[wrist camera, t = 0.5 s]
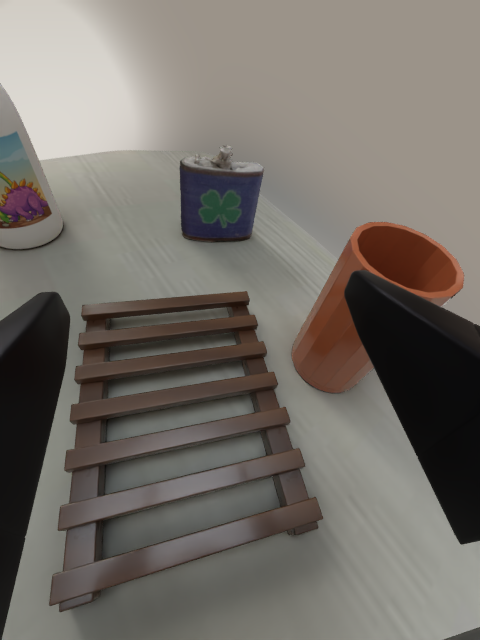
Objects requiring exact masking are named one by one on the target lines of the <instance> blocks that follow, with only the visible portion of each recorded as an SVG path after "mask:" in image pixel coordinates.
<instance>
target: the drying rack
mask: <svg viewBox="0 0 480 640" xmlns="http://www.w3.org/2000/svg"><path fill="white" fill-rule="evenodd" d="M249 301H250V299H249V296H248V293H247V291H245V292H233V293H221V294H209V295H197V296H185V297H173V298H161V299H149V300H137V301H125V302H113V303H101V304H89V305H82V313H81V316H82V318H83V320H84V321H87V324H86V333H80V334H79V341H78V346H79V348H80V349H81V350H84V355H83V365H81V366H76V369H75V378H74V380H75V382H76V383H77V384H81V386H80V397H79V403H78V404H72V405H71V413H70V422H71V423H72V424H77V428H76V439H75V449H70V450H67V451H66V459H65V468H64V470H65V471H67V472H69V473H70V472H72V480H71V491H70V501H69V504H65V505H62V506H61V507H60V513H59V522H58V531H65V530H67V533H66V543H65V554H64V564H63V571H62V572H59V573H55V574H53V576H52V584H51V593H50V602H49V605H50V606H52V605H55V604H59V603H60V606H59V612H63V611H66V610H69V609H72V608H75V607H78V606H81V605H84V604H87V603H90V602H92V601H94V600H95V599H97V598H98V597H100V595H101V590H103V589H106V588H109V587H112V586H115V585H118V584H121V583H124V582H128V581H131V580H134V579H137V578H140V577H143V576H146V575H150V574H153V573H156V572H159V571H162V570H165V569H168V568H172V567H175V566H178V565H181V564H184V563H187V562H190V561H193V560H197V559H200V558H203V557H206V556H209V555H212V554H215V553H219V552H222V551H225V550H228V549H231V548H234V547H237V546H240V545H244V544H247V543H250V542H253V541H256V540H259V539H262V538H266V537H269V536H272V535H275V534H278V533H281V532H284V531H288V534H289V535H299V534H302V533H305V532H308V531H311V530H314V529H317V528H318V525H317V522H316V521H319V520H322V519H323V516H322V513H321V510H320V507H319V504H318V502H317V499H316V497H314V498H310V499H309V497H308V494H307V491H306V488H305V485H304V482H303V479H302V475H301V472H300V469H301V468H303V467H305V463H304V460H303V457H302V454H301V451H300V449H299V448H297V449H293V448H292V445H291V441H290V438H289V435H288V432H287V429H286V425H288V424H289V423H290V419H289V416H288V413H287V410H286V407H282V408H280V407H279V404H278V401H277V398H276V395H275V392H274V389H275V388H276V387H277V386H278V383H277V380H276V377H275V374H274V372H268V370H267V367H266V364H265V361H264V358H263V357H265V356H266V354H267V350H266V347H265V344H264V342H263V341H262V342H258V340H257V336H256V333H255V329H257V326H258V323H257V320H256V317H255V315H249V312H248V309H247V306H246V305H249ZM224 307H227V309H228V313H229V317H228V318H219V319H210V320H200V321H191V322H181V323H172V324H162V325H153V326H143V327H134V328H125V329H115V330H110V318H120V317H131V316H141V315H151V314H162V313H172V312H183V311H193V310H203V309H214V308H224ZM230 332H234V335H235V339H236V342H237V345H232V346H224V347H217V348H209V349H202V350H194V351H186V352H179V353H171V354H164V355H156V356H149V357H141V358H134V359H126V360H118V361H111V362H109V347H113V346H121V345H129V344H138V343H146V342H154V341H163V340H171V339H180V338H188V337H196V336H205V335H213V334H221V333H230ZM240 360H241V361H242V365H243V368H244V372H245V376H244V377H238V378H231V379H225V380H219V381H213V382H207V383H201V384H194V385H188V386H182V387H176V388H170V389H164V390H158V391H151V392H145V393H139V394H133V395H127V396H121V397H114V398H108V380H110V379H117V378H124V377H131V376H138V375H144V374H151V373H158V372H165V371H172V370H178V369H185V368H192V367H199V366H206V365H212V364H219V363H226V362H233V361H240ZM248 393H250V394H251V398H252V402H253V405H254V409H255V413H252V414H247V415H242V416H237V417H232V418H227V419H222V420H216V421H211V422H206V423H201V424H196V425H191V426H186V427H181V428H176V429H171V430H166V431H161V432H156V433H151V434H146V435H141V436H136V437H131V438H126V439H121V440H116V441H111V442H106V430H107V419H108V418H113V417H119V416H125V415H130V414H136V413H141V412H147V411H153V410H158V409H164V408H169V407H175V406H181V405H186V404H192V403H197V402H203V401H208V400H214V399H220V398H225V397H231V396H236V395H242V394H248ZM259 431H261V435H262V438H263V442H264V446H265V450H266V453H267V456H264V457H260V458H256V459H252V460H247V461H243V462H239V463H235V464H231V465H227V466H223V467H218V468H214V469H210V470H206V471H202V472H198V473H194V474H189V475H185V476H181V477H177V478H173V479H169V480H165V481H161V482H156V483H152V484H148V485H144V486H140V487H136V488H132V489H127V490H123V491H119V492H115V493H111V494H107V495H104V486H105V465H106V464H111V463H116V462H120V461H125V460H130V459H134V458H139V457H143V456H148V455H153V454H157V453H162V452H166V451H171V450H176V449H180V448H185V447H190V446H194V445H199V444H203V443H208V442H213V441H217V440H222V439H226V438H231V437H236V436H240V435H245V434H250V433H254V432H259ZM271 476H273V479H274V483H275V486H276V490H277V494H278V498H279V501H280V505H281V507H280V508H276V509H273V510H269V511H266V512H263V513H259V514H256V515H252V516H249V517H246V518H242V519H239V520H235V521H232V522H229V523H225V524H222V525H218V526H215V527H212V528H208V529H205V530H201V531H198V532H195V533H191V534H188V535H184V536H181V537H178V538H174V539H171V540H167V541H164V542H161V543H157V544H154V545H151V546H147V547H144V548H140V549H137V550H134V551H130V552H127V553H123V554H120V555H117V556H113V557H110V558H106V559H103V560H102V542H103V520H107V519H111V518H115V517H118V516H122V515H126V514H130V513H134V512H138V511H141V510H145V509H149V508H153V507H157V506H160V505H164V504H168V503H172V502H176V501H179V500H183V499H187V498H191V497H195V496H199V495H202V494H206V493H210V492H214V491H218V490H221V489H225V488H229V487H233V486H237V485H240V484H244V483H248V482H252V481H256V480H260V479H263V478H267V477H271Z"/></svg>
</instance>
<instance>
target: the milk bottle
mask: <svg viewBox="0 0 480 640" xmlns="http://www.w3.org/2000/svg"><path fill="white" fill-rule="evenodd" d="M62 228H63V219H62V217H61V214H60V211H59V209H58V206H57V204H56V201H55V199H54V196H53V194H52V191H51V189H50V186H49V184H48V181H47V179H46V177H45V174H44V172H43V169H42V167H41V164H40V162H39V160H38V157H37V155H36V152H35V150H34V148H33V145H32V143H31V141H30V138H29V136H28V134H27V131H26V129H25V127H24V124H23V122H22V120H21V118H20V116H19V113H18V111H17V109H16V107H15V106H14V104H13V102H12V100H11V99H10V97H9V95H8V94H7V92H6V91H5V89H4V88H3V87H2V85H1V84H0V246H1V247H5V248H10V249H27V248H32V247H37V246H40V245H43V244H45V243H48V242H50V241H51V240H53V239H54V238H56V237H57V236H58V235H59V234H60V232H61V230H62Z"/></svg>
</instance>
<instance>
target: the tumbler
mask: <svg viewBox="0 0 480 640" xmlns="http://www.w3.org/2000/svg"><path fill="white" fill-rule="evenodd" d="M357 270H367V271H369V272H371V273H373V274H375V275H377V276H379V277H381V278H383V279H385V280H387V281H389V282H391V283H393V284H395V285H397V286H399V287H401V288H403V289H405V290H407V291H409V292H411V293H414V294H416V295H418V296H420V297H422V298H424V299H426V300H428V301H430V302H432V303H434V304H436V305H438V306H440V307H442V306H444V305H445V304H446V303H447V302H448V301H449V300H450V299H451V298H452V297H453V296H455V295H456V294H457V293H458V292H459V291H460V290H461V289H462V288H463V281H464V273H463V271H462V269H461V267H460V265H459V263H458V261H457V260H456V259H455V258H454V257H453V256H452V255H451V254H450V253H449V252H448V251H447V250H446V249H445V248H444V247H443V246H442V245H440V244H439V243H437V242H436V241H434V240H432V239H431V238H429V237H428V236H427V235H425V234H423V233H420V232H418V231H415V230H413V229H411V228H408V227H406V226H402V225H397V224H393V223H388V222H370V223H366V224H364V225H362V226H359V227H357V228H356V229H355V231H354V232H353V234H352V236H351V237H350V239H349V241H348V243H347V245H346V246H345V248H344V250H343V252H342V254H341V256H340V258H339V259H338V261H337V263H336V265H335V267H334V269H333V271H332V272H331V274H330V276H329V278H328V280H327V282H326V284H325V286H324V287H323V289H322V291H321V293H320V295H319V297H318V299H317V300H316V302H315V304H314V306H313V308H312V310H311V312H310V313H309V315H308V317H307V319H306V321H305V323H304V325H303V327H302V328H301V330H300V332H299V334H298V336H297V338H296V340H295V341H294V344H293V347H292V360H293V363H294V366H295V368H296V370H297V371H298V373H299V374H300V376H301V377H302V378H303V379H304V380H305V381H306V382H307V383H309V384H310V385H312V386H313V387H315V388H317V389H319V390H322V391H325V392H330V393H341V392H345V391H348V390H350V389H351V388H353V387H354V386H355V385H356V384H357V383H358V382H360V381H361V380H362V379H363V378H364V377H365V376H366V375H367V374H369V373H370V372H371V371H372V370H373V369H374V367H373V365H372V363H371V360H370V358H369V356H368V354H367V352H366V350H365V348H364V346H363V344H362V342H361V340H360V338H359V335H358V333H357V331H356V328H355V325H354V322H353V320H352V317H351V314H350V311H349V308H348V305H347V303H346V300H345V297H344V291H345V288H346V285H347V283H348V280H349V278H350V276H351V273H352V272H353V271H357Z"/></svg>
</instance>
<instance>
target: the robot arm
mask: <svg viewBox="0 0 480 640" xmlns="http://www.w3.org/2000/svg"><path fill="white" fill-rule="evenodd" d="M344 297H345V300H346V303H347V305H348V308H349V311H350V314H351V317H352V320H353V322H354V325H355V328H356V331H357V333H358V335H359V338H360V340H361V342H362V344H363V346H364V348H365V350H366V352H367V354H368V356H369V358H370V360H371V363H372V365H373V367H374V369H375V371H376V373H377V375H378V377H379V379H380V381H381V383H382V385H383V387H384V389H385V391H386V393H387V395H388V398H389V400H390V402H391V404H392V406H393V408H394V410H395V412H396V414H397V416H398V418H399V420H400V422H401V424H402V426H403V428H404V430H405V432H406V435H407V437H408V439H409V441H410V443H411V445H412V447H413V449H414V451H415V453H416V455H417V456H418V460H419V462H420V464H421V466H422V468H423V470H424V472H425V474H426V476H427V478H428V480H429V482H430V484H431V486H432V488H433V490H434V493H435V495H436V497H437V499H438V501H439V503H440V505H441V507H442V509H443V511H444V513H445V515H446V517H447V519H448V521H449V523H450V526H451V528H452V530H453V532H454V534H455V536H456V537H457V539H458V541H459V543H460V544H461V545H462V544H467V543H471V542H476V541H480V326H478V325H476V324H473V323H472V322H470V321H468V320H466V319H464V318H462V317H460V316H458V315H456V314H454V313H452V312H450V311H448V310H446V309H444V308H442V307H440V306H438V305H436V304H434V303H432V302H430V301H428V300H426V299H424V298H422V297H420V296H418V295H416V294H414V293H411V292H409V291H407V290H405V289H403V288H401V287H399V286H397V285H395V284H393V283H391V282H389V281H387V280H385V279H383V278H381V277H379V276H377V275H375V274H373V273H371V272H369V271H367V270H357V271H353V272H352V273H351V276H350V278H349V280H348V283H347V285H346V288H345V291H344ZM69 328H70V315H69V312H68V310H67V308H66V306H65V304H64V303H63V301H62V299H61V297H60V295H59V294H58V293H57V292H42V293H39V294H37V295H36V296H34V297H33V298H32V299H30V300H29V301H28V302H26V303H25V304H23V305H22V306H21V307H19V308H18V309H17V310H15V311H14V312H12V313H11V314H10V315H8V316H7V317H6V318H4V319H3V320H1V321H0V640H2V635H3V631H4V627H5V623H6V618H7V614H8V610H9V606H10V602H11V597H12V593H13V589H14V585H15V580H16V576H17V572H18V568H19V563H20V559H21V555H22V551H23V547H24V542H25V536H26V533H27V529H28V524H29V520H30V516H31V512H32V507H33V503H34V499H35V495H36V490H37V486H38V482H39V478H40V474H41V469H42V465H43V461H44V457H45V452H46V448H47V444H48V440H49V435H50V431H51V427H52V423H53V419H54V414H55V410H56V406H57V402H58V397H59V393H60V389H61V385H62V380H63V376H64V372H65V367H66V359H67V349H68V339H69ZM444 640H480V627H479V628H476V629H473V630H470V631H467V632H464V633H461V634H458V635H455V636H452V637H450V638H447V639H444Z"/></svg>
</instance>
